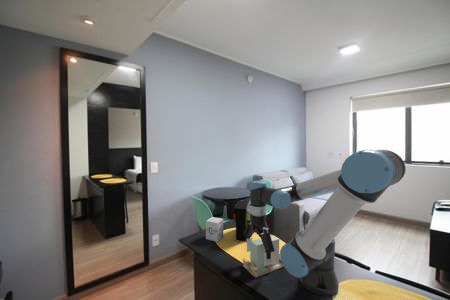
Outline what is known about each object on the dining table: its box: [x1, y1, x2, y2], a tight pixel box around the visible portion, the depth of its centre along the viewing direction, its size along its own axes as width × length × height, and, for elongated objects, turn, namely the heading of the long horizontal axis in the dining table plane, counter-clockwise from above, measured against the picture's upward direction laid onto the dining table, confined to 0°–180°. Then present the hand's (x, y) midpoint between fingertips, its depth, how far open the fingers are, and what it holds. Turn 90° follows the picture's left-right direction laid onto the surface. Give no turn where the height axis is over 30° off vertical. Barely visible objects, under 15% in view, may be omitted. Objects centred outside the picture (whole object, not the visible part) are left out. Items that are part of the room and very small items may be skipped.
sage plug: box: [249, 238, 265, 270], centre depth 99 cm, size 5×5×12 cm
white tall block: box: [265, 234, 280, 265], centre depth 103 cm, size 5×5×12 cm
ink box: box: [205, 216, 224, 243], centre depth 131 cm, size 8×8×12 cm
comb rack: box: [242, 253, 285, 278], centre depth 101 cm, size 10×19×4 cm, turn 119°
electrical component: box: [232, 200, 251, 242], centre depth 136 cm, size 18×10×20 cm, turn 168°
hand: (257, 257), depth 99 cm, fingers open, 13 cm apart
